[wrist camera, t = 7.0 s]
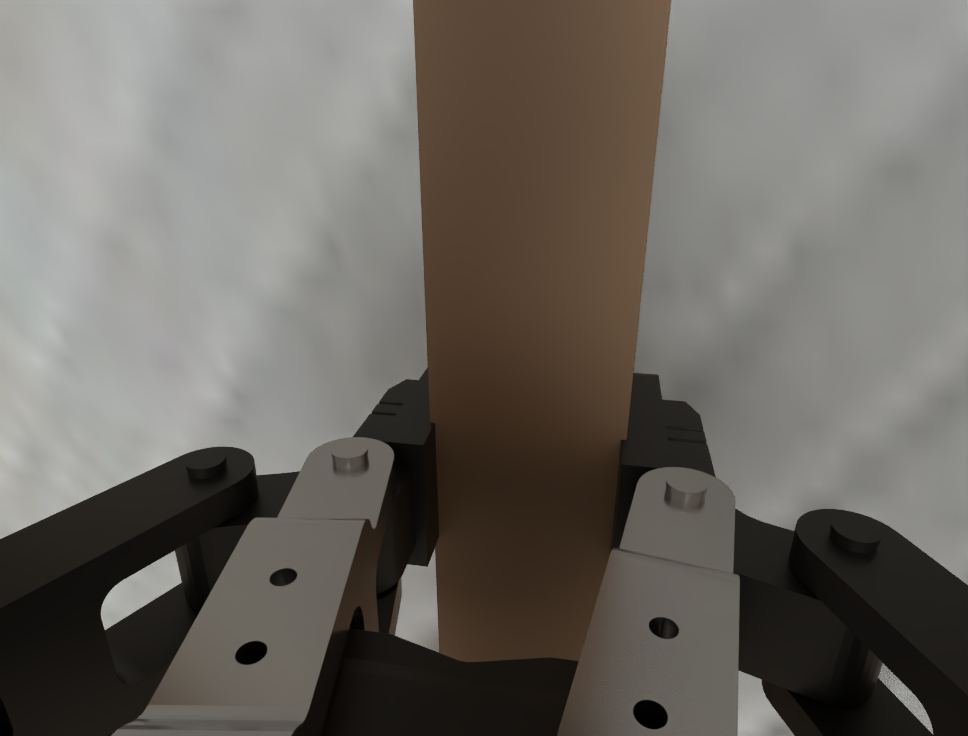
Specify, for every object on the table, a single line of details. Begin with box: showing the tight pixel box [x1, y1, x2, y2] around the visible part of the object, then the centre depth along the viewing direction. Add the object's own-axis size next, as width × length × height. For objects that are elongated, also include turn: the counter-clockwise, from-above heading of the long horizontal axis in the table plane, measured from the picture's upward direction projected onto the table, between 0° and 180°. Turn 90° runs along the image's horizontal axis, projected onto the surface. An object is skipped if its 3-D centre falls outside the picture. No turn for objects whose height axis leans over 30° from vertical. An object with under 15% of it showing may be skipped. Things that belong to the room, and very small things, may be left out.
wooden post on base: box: [413, 0, 671, 662], centre depth 13 cm, size 6×20×4 cm, turn 0°
